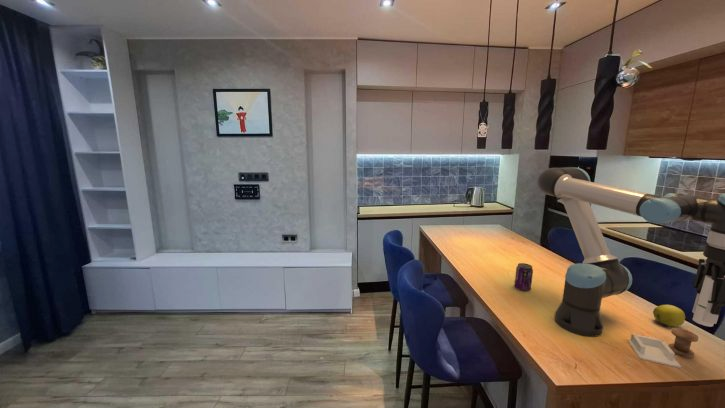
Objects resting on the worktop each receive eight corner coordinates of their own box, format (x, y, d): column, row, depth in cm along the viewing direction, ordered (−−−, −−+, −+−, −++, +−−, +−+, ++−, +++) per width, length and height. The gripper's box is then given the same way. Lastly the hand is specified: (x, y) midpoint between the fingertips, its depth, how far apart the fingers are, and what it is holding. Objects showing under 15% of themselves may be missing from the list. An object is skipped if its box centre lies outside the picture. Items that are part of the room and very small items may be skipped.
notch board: (639, 358, 96) (641, 350, 95) (627, 340, 105) (628, 332, 104) (681, 368, 91) (683, 359, 91) (664, 348, 101) (666, 340, 100)
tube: (690, 316, 94) (703, 273, 91) (710, 321, 92) (724, 277, 88) (694, 322, 91) (707, 278, 88) (715, 328, 88) (729, 282, 85)
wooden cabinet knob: (673, 354, 97) (677, 336, 96) (664, 344, 103) (668, 326, 101) (698, 360, 95) (702, 341, 94) (687, 349, 100) (692, 330, 99)
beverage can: (527, 293, 138) (530, 269, 136) (511, 288, 143) (514, 265, 141) (532, 289, 143) (535, 265, 141) (517, 284, 148) (520, 261, 146)
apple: (690, 332, 110) (695, 312, 108) (662, 329, 111) (666, 310, 110) (672, 320, 117) (676, 302, 116) (646, 318, 119) (650, 299, 117)
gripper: (769, 259, 77) (742, 338, 82) (721, 239, 92) (701, 306, 97) (729, 255, 79) (706, 330, 84) (689, 236, 95) (671, 301, 100)
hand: (703, 317), depth 91 cm, fingers closed on tube, 4 cm apart
